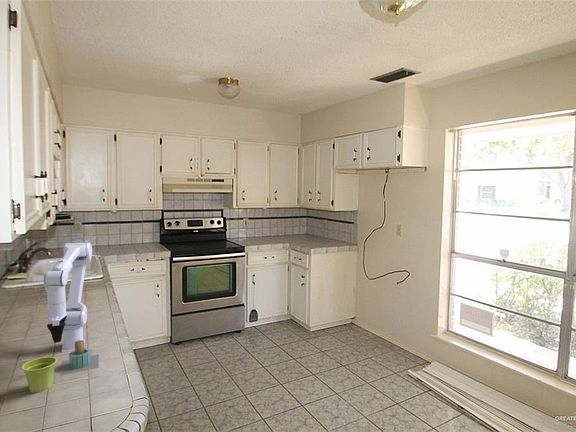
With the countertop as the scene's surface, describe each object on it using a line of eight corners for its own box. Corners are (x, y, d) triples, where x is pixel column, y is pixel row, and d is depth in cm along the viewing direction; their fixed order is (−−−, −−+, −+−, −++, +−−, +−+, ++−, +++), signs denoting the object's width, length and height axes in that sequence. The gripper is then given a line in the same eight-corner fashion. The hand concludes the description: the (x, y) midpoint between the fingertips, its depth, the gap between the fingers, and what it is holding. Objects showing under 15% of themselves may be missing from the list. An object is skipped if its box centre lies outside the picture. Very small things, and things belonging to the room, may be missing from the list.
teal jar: (70, 362, 136) (69, 350, 136) (90, 358, 140) (90, 347, 139) (69, 370, 131) (68, 358, 130) (90, 366, 134) (90, 354, 133)
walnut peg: (75, 362, 136) (74, 341, 135) (84, 360, 137) (84, 339, 137) (75, 365, 133) (74, 344, 133) (84, 363, 134) (84, 342, 134)
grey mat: (62, 362, 138) (62, 361, 138) (98, 355, 143) (98, 354, 143) (60, 376, 127) (60, 375, 127) (98, 368, 133) (98, 367, 133)
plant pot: (20, 388, 119) (19, 362, 119) (54, 378, 126) (53, 353, 125) (26, 400, 113) (24, 373, 112) (61, 388, 119) (60, 363, 119)
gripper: (46, 298, 139) (47, 333, 140) (41, 309, 126) (43, 347, 127) (67, 296, 142) (68, 330, 143) (65, 306, 130) (66, 343, 131)
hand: (58, 338), depth 136 cm, fingers open, 7 cm apart
